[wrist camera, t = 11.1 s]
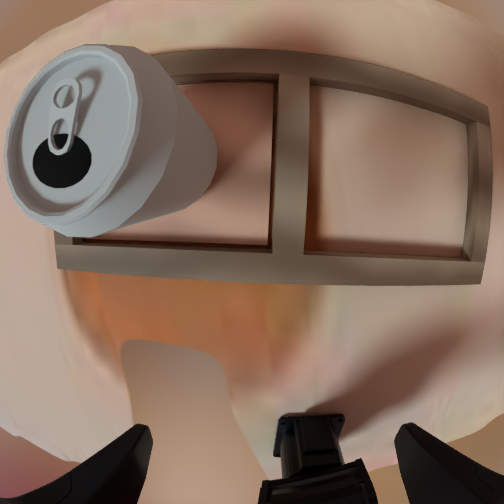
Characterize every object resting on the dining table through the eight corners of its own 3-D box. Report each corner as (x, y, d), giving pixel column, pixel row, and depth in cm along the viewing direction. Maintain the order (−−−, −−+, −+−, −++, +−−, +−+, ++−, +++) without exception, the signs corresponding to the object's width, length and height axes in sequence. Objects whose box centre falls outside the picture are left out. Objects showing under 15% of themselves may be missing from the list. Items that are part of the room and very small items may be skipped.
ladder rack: (470, 279, 20) (480, 284, 18) (67, 264, 20) (57, 268, 19) (478, 110, 16) (487, 107, 15) (75, 81, 17) (66, 76, 15)
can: (112, 204, 19) (-16, 227, 7) (131, 107, 17) (22, 45, 5) (207, 222, 19) (134, 271, 7) (230, 116, 17) (192, 16, 6)
